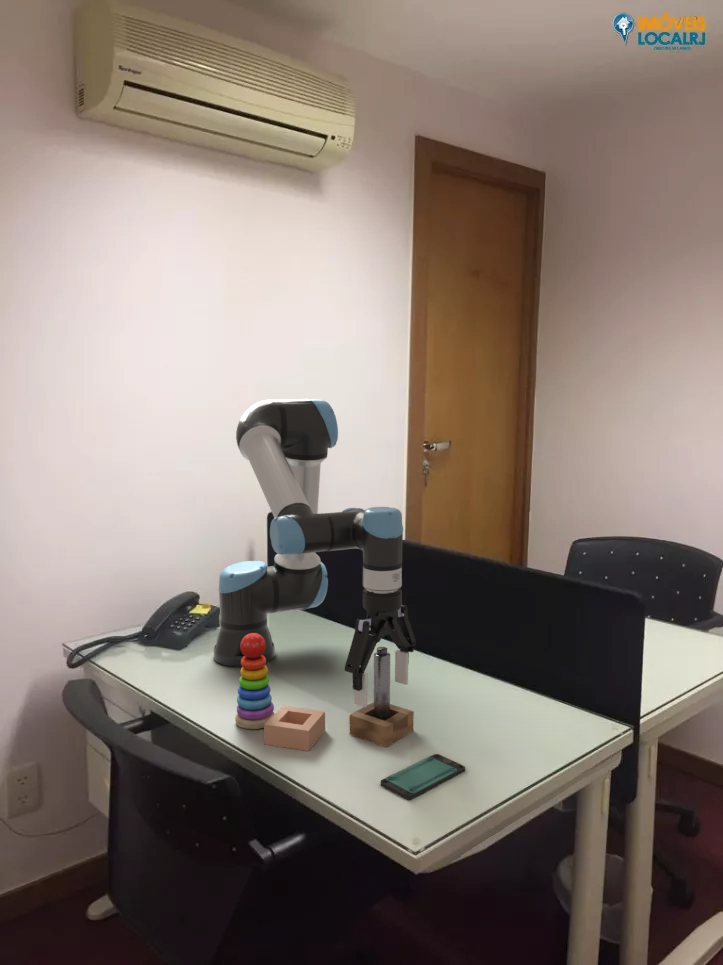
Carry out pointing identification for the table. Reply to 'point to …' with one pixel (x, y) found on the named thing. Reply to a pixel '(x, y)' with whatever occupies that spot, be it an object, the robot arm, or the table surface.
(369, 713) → the brown wooden square holder
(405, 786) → the smartphone
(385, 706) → the grey capped cylinder
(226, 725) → the table surface
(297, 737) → the pink square socket block
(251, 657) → the stacking toy
